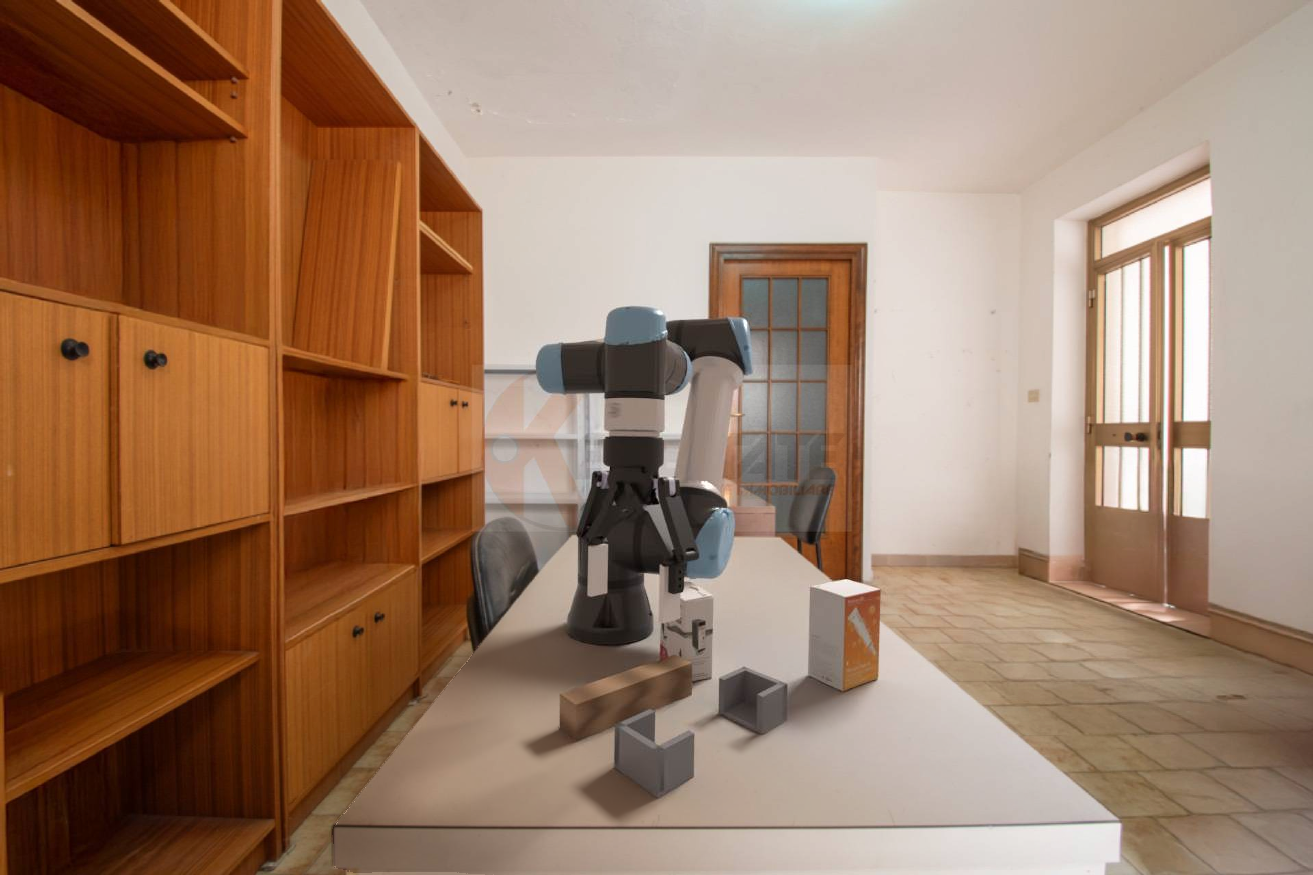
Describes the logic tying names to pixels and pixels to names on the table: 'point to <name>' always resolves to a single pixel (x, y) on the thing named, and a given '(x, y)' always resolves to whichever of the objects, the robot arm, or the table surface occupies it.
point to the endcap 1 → (652, 755)
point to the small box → (844, 633)
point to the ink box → (691, 631)
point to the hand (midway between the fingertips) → (630, 606)
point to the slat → (623, 696)
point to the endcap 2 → (753, 699)
